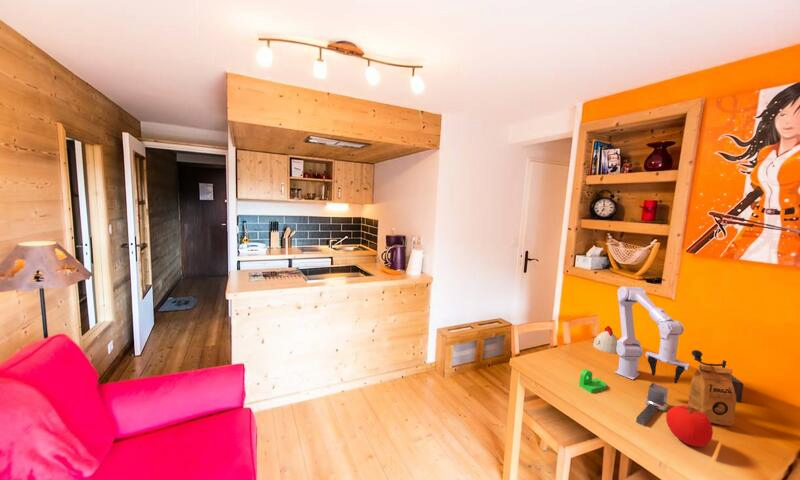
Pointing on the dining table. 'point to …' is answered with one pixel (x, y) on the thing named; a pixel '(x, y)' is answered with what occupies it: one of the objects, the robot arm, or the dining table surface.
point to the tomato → (689, 425)
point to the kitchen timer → (606, 341)
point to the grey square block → (657, 394)
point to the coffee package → (713, 394)
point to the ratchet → (649, 412)
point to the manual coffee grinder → (736, 383)
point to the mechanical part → (590, 382)
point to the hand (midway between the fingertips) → (664, 378)
